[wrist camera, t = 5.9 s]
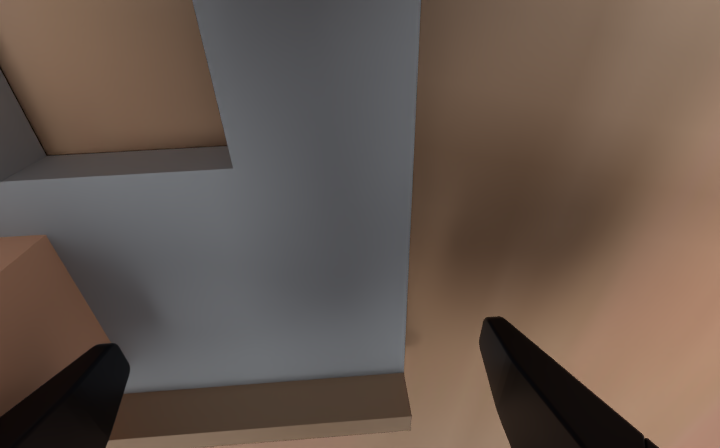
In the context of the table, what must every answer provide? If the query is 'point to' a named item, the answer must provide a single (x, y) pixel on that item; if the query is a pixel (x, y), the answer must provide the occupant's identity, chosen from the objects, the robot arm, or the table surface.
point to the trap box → (250, 231)
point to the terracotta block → (38, 318)
